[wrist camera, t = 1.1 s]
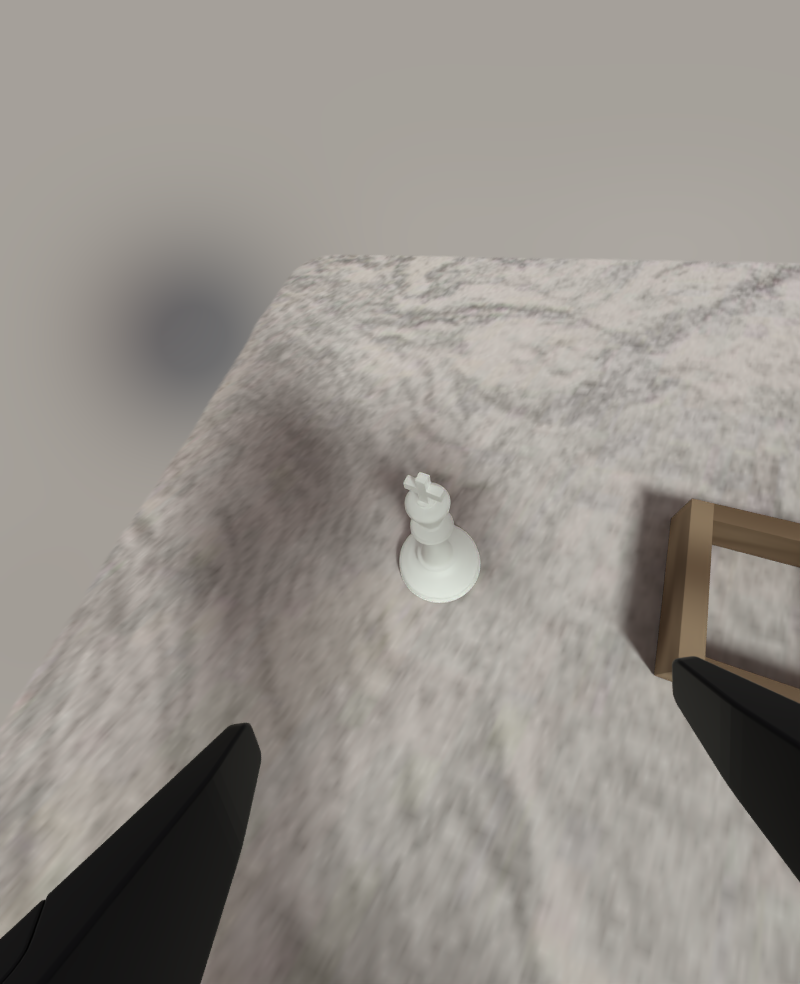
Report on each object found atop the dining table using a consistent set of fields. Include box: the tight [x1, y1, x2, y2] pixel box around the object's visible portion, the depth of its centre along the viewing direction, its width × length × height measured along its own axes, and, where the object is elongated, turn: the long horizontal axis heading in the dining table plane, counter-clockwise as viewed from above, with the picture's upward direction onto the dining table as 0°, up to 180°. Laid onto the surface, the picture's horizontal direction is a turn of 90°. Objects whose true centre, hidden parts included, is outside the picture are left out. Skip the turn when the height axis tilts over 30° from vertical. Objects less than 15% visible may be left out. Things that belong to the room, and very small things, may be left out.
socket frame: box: [654, 499, 800, 703], centre depth 18 cm, size 9×9×2 cm
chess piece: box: [399, 472, 480, 603], centre depth 19 cm, size 5×5×10 cm
